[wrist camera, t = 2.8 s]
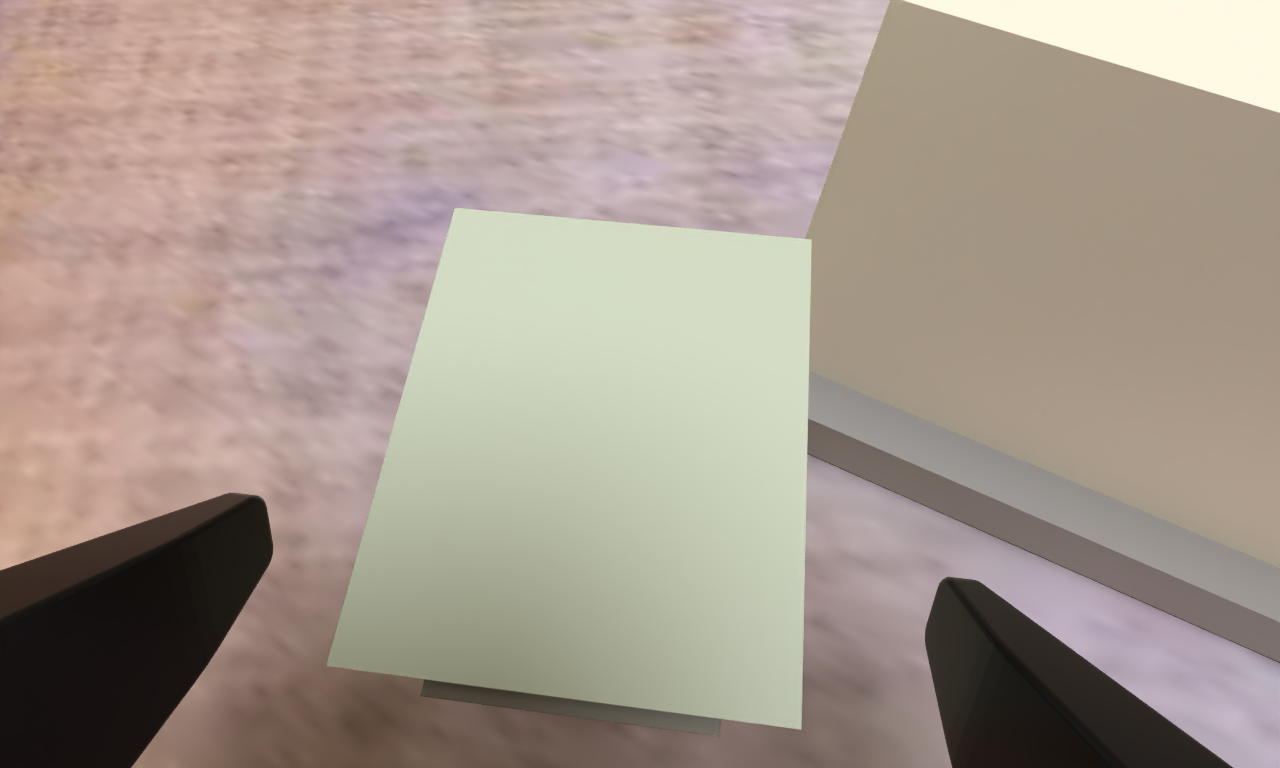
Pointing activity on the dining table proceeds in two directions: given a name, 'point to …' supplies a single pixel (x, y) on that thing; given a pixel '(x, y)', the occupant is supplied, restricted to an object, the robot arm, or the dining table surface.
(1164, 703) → the dining table surface
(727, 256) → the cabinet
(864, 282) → the cream l-shaped piece
